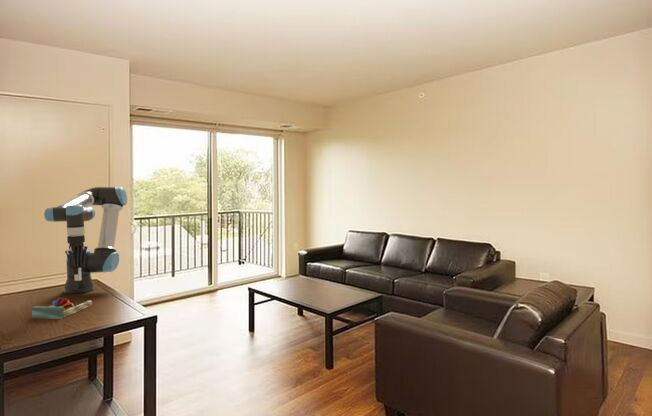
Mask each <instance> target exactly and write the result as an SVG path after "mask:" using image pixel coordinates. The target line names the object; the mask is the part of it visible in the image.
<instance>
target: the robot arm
mask: <svg viewBox="0 0 652 416" xmlns="http://www.w3.org/2000/svg"><path fill="white" fill-rule="evenodd" d="M127 203H128V196H127V192H126V190H125V189H124V187H122V186H95V187H91V188H88V189H85V190H82V191H81V192H79V194H77V196H75V197H74V198H72V199H70V200H67V201H66V202H64V203H62V204H60V205H58V206H56V207H54V206H52V207H47V208H46V209H45V210H44V212H43V213H44V219H45V220H46V221H47V222H53V223H57V222H66V232H67V233H66V235H67V240H66V241H67V244H69V246H68V249H67V250H65V251H64V253H65V255H66V260H65V261H66V281H65V284H64V287H63V293H64V294H82V293H87V292H90V291H94V290H95V284H94V281H93V278H92V277H91V276H92V275H91V273H112V272H115V270H116V269H117V268H118V266H119V262H120V254H119V252H117V249H116V248H115V244H116V236H117V231H118V230H117V229H118V224H119V222H118V221H119V216H120V211H122V210H123V208H124V207H123V206H126V205H127ZM91 206H101V208H102V209H103V213H102V218H101V225H100V229H99V230H100V231H99V238H98V244H97V247H95V248H94V249H93V250H94V251H93V252H91V250H90V249H88V246H85V244H84V243H85V241H86V236H85V232H86V231H85V222H90V221H92V220H93V219H95V217H96V211H95V209H94V208H93V207H91Z"/></svg>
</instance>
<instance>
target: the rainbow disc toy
mask: <svg viewBox="0 0 652 416" xmlns="http://www.w3.org/2000/svg"><path fill="white" fill-rule="evenodd" d="M68 300H69V299H68V298H66V297H64V298H63V297H58V298H57V299H55V300H53V301H52V305H53V306H51V305H50V306H51V307H64V311H65V310H67V309H70V308H72V307H74V306H75V304H73V303H72V302H70V301H69V302H68ZM67 302H68V303H67Z"/></svg>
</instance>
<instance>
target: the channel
mask: <svg viewBox="0 0 652 416" xmlns="http://www.w3.org/2000/svg"><path fill="white" fill-rule="evenodd" d="M68 302H70V299H68ZM68 302H67V303H68ZM51 306H53V305H49V306H43V305H41V306H40V305H35V306H32V307H31V318H32V319H45V320H47V319H49V320H62V319H64V318H66V317H68V316H71V315H73V314H75V313H78V312H80V311H83V310H84V309H86V308H89V307H92V306H93V300H87V301H84V302H81V303H79V304H77V305H74V307H72V308H70V309H67V310H65V311H64V307H51Z"/></svg>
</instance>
